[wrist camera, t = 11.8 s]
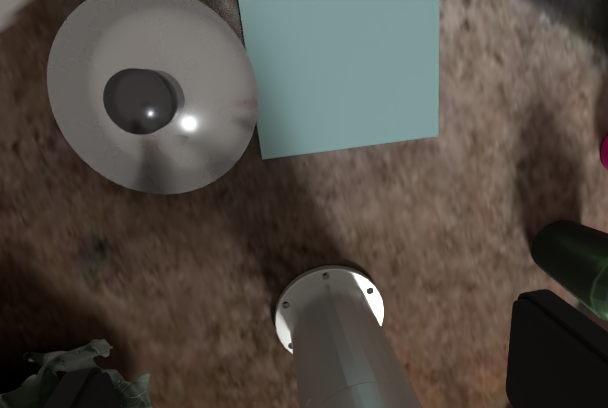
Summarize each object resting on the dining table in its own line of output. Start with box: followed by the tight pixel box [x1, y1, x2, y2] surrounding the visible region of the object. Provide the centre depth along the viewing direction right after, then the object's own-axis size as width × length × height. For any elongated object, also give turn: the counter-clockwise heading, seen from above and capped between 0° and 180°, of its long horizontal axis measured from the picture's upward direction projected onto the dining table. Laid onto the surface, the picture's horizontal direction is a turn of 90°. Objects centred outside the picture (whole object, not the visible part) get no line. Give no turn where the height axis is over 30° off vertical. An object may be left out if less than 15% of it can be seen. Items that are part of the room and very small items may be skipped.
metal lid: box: [47, 0, 258, 194], centre depth 26 cm, size 15×15×6 cm
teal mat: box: [238, 0, 439, 160], centre depth 35 cm, size 18×18×1 cm
